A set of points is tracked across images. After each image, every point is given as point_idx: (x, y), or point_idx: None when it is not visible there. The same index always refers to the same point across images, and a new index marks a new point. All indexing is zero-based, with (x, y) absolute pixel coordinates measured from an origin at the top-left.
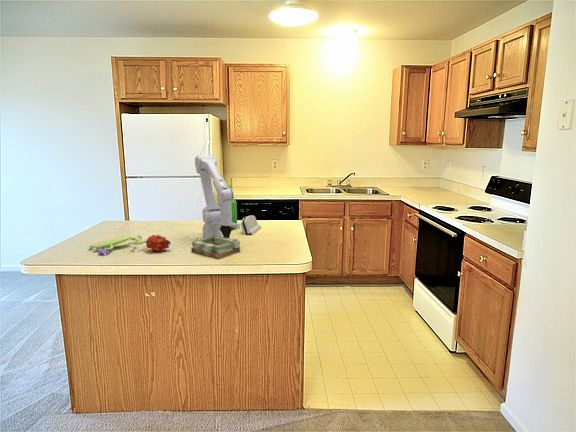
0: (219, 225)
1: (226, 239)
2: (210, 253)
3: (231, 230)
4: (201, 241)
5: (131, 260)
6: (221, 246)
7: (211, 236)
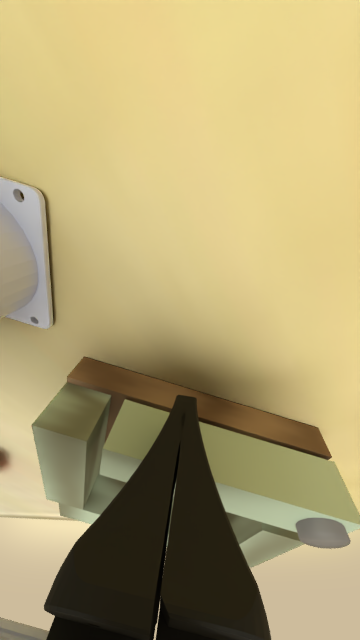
0: (10, 636)
1: (227, 505)
2: None
3: (230, 532)
4: (85, 501)
5: (14, 501)
6: (253, 559)
7: (51, 446)
